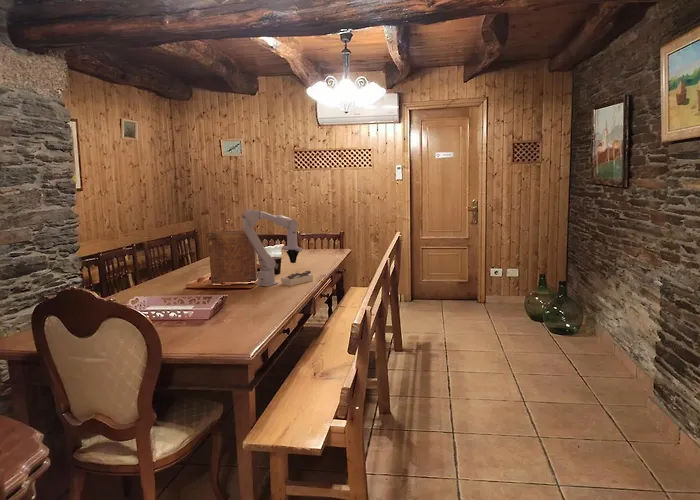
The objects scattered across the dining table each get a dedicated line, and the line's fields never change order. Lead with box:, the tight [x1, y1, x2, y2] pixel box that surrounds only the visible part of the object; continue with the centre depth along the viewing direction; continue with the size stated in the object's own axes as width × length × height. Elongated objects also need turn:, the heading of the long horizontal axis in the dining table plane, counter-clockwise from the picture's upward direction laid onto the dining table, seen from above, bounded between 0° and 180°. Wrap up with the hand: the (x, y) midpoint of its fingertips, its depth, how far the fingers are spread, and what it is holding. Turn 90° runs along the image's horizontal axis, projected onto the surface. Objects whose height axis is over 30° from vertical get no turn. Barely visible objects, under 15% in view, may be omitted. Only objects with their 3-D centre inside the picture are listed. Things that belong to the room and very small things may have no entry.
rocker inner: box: [287, 273, 296, 279], centre depth 290 cm, size 4×3×1 cm
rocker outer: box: [301, 270, 311, 275], centre depth 298 cm, size 4×3×1 cm
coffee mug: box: [271, 256, 282, 276], centre depth 322 cm, size 12×9×10 cm
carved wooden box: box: [207, 229, 258, 283], centre depth 295 cm, size 25×9×30 cm, turn 94°
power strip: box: [280, 273, 314, 287], centre depth 295 cm, size 17×8×4 cm, turn 137°
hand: (293, 262), depth 300 cm, fingers closed
